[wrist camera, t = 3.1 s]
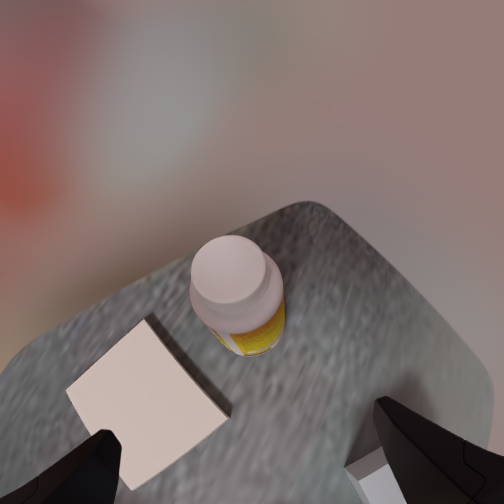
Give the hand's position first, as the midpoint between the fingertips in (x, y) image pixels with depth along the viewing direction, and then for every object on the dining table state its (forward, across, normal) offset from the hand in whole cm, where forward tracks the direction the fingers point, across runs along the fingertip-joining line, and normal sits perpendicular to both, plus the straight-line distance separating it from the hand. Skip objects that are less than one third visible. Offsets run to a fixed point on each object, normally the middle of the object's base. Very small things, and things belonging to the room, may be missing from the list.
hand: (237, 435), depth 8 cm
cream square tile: (+11, +10, +8) cm, 17 cm away
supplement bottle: (+15, 0, +4) cm, 16 cm away
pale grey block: (+5, -8, +15) cm, 17 cm away
